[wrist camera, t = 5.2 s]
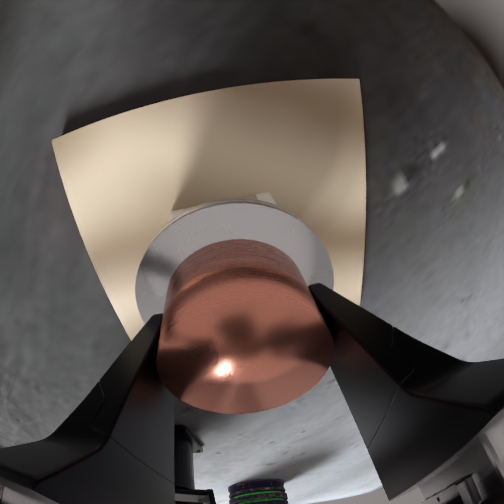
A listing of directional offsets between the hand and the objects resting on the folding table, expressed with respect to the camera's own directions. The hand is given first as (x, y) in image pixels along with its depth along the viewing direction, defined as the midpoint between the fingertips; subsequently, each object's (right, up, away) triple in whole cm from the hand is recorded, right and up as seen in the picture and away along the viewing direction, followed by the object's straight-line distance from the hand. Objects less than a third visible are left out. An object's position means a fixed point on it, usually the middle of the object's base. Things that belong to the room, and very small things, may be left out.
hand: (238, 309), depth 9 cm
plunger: (-1, +2, +4) cm, 5 cm away
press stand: (-1, +3, +5) cm, 6 cm away
